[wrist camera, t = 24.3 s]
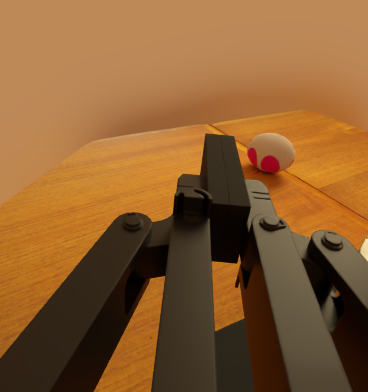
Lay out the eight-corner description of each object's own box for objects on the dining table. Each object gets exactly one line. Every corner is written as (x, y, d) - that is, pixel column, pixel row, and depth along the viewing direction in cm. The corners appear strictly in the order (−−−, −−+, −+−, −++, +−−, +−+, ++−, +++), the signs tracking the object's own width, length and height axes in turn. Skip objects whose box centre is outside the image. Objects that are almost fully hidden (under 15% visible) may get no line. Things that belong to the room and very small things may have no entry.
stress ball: (237, 180, 52) (227, 156, 47) (265, 146, 53) (258, 119, 48) (276, 199, 47) (270, 174, 42) (304, 162, 49) (302, 133, 44)
